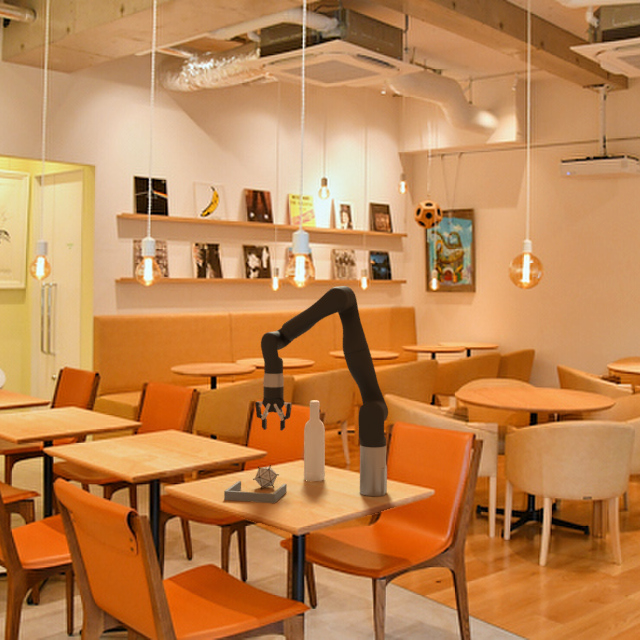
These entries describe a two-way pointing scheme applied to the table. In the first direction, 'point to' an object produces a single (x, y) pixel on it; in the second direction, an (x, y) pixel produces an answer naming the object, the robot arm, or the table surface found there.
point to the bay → (253, 494)
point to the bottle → (314, 445)
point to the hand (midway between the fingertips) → (273, 429)
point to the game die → (265, 477)
